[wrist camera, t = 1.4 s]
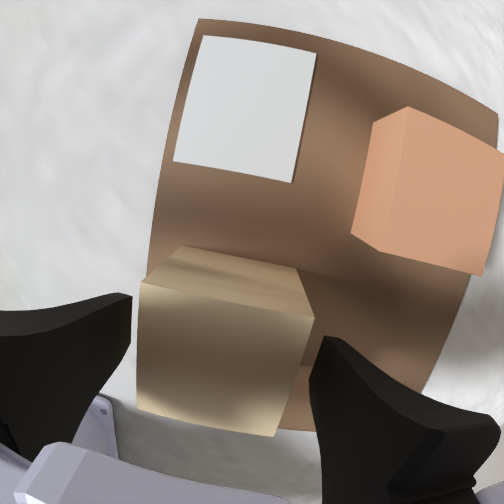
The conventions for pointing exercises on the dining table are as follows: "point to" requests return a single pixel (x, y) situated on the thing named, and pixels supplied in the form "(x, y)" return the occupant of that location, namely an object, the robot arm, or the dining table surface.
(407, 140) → the terracotta base block
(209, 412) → the maple block
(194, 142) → the build board
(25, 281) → the dining table surface
